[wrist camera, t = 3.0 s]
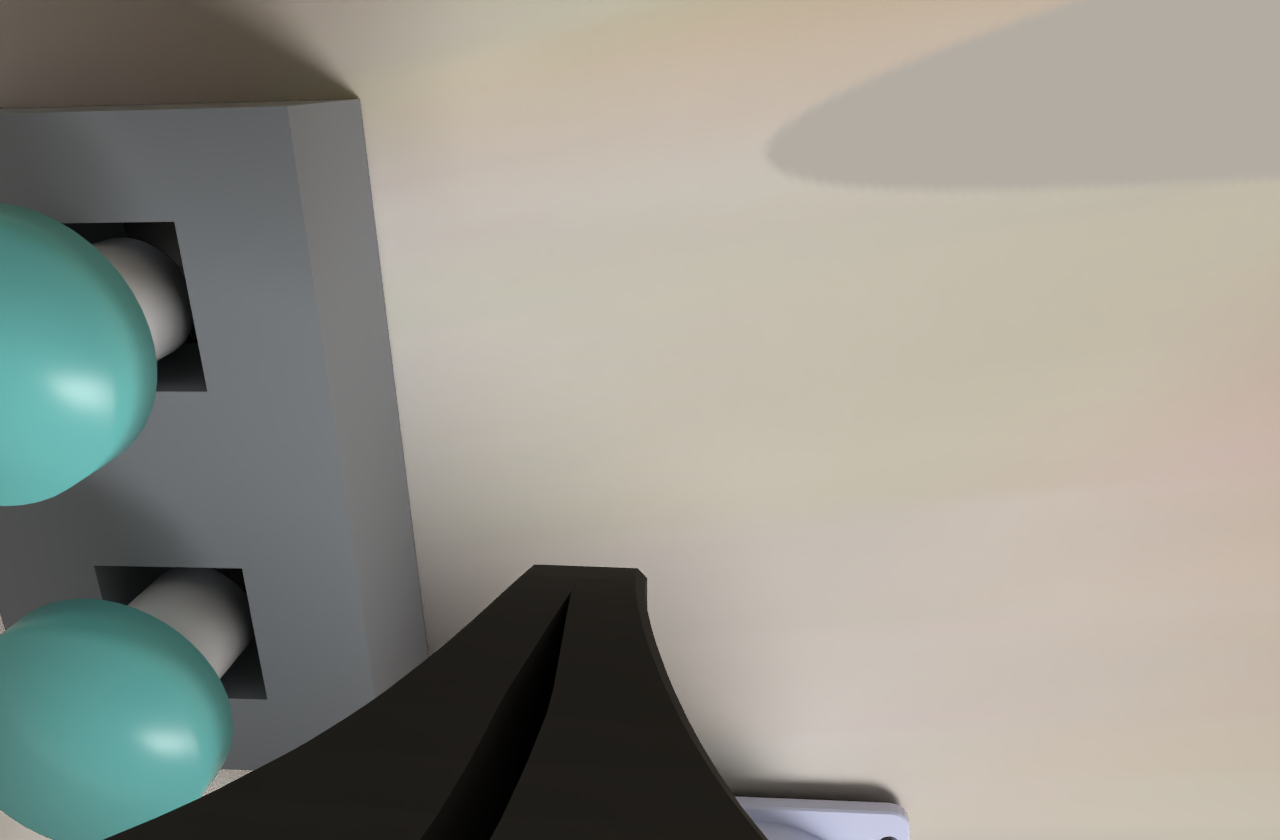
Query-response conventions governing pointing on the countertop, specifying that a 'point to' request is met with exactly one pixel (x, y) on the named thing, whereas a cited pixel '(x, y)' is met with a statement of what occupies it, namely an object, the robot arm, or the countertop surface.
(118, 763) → the knob
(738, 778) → the countertop surface
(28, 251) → the knob
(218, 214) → the panel box
